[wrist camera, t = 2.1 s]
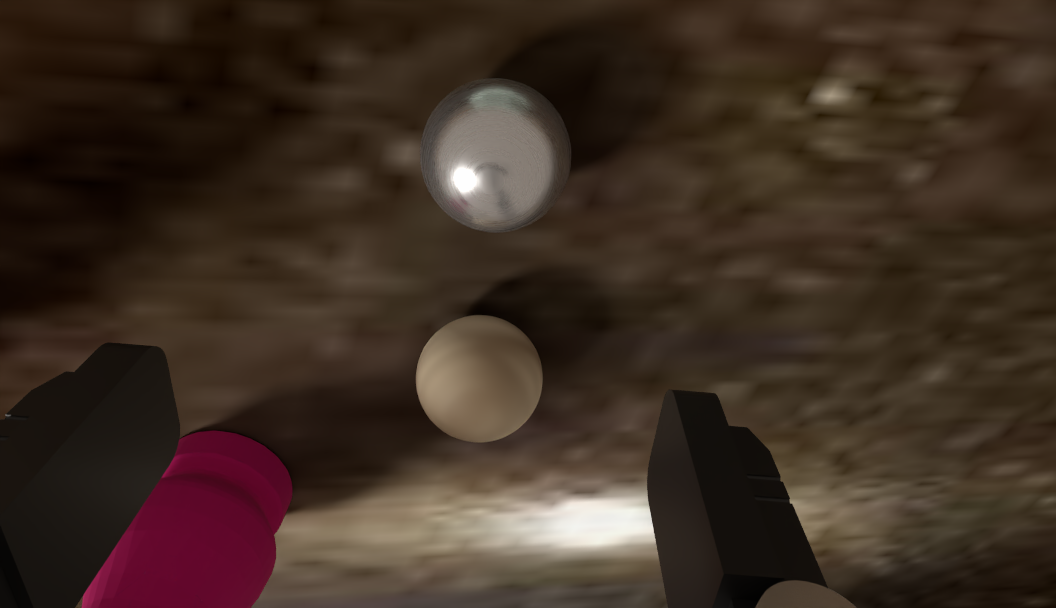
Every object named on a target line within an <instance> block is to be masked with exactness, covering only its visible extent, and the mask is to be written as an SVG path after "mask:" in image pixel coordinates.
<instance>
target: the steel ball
mask: <svg viewBox="0 0 1056 608" xmlns="http://www.w3.org/2000/svg"><path fill="white" fill-rule="evenodd" d="M420 162H421V169H422V174H423V177H424V181H425V183H426V186H427V188H428V190H429V192H430V193H431V195H432V197H433V198H434V200H435V201H436V202H437V204H438V205H439V206H440V207H441V208H442V209H443V210H444V211H445V212H446V213H447V214H448V215H449V216H450V217H452V218H453V219H454V220H456V221H458V222H459V223H461V224H463V225H465V226H467V227H470V228H473V229H476V230H480V231H485V232H508V231H513V230H517V229H520V228H523V227H525V226H527V225H529V224H531V223H533V222H535V221H536V220H538V219H539V218H541V217H542V216H543V215H544V214H546V213H547V212H548V211H549V210H550V209H551V208H552V207H553V206H554V204H555V203H556V201H557V200H558V199H559V197H560V195H561V193H562V192H563V190H564V188H565V185H566V183H567V180H568V176H569V172H570V166H571V145H570V140H569V136H568V133H567V129H566V127H565V124H564V122H563V120H562V118H561V116H560V115H559V113H558V111H557V110H556V108H555V107H554V106H553V105H552V104H551V103H550V101H549V100H547V99H546V98H545V97H544V96H543V95H542V94H541V93H539V92H538V91H536V90H535V89H533V88H531V87H529V86H527V85H525V84H523V83H520V82H517V81H514V80H509V79H503V78H487V79H480V80H476V81H472V82H470V83H467V84H464V85H462V86H461V87H459V88H457V89H455V90H454V91H452V92H451V93H450V94H448V95H447V96H446V97H445V98H444V99H443V100H442V101H441V102H440V103H439V104H438V105H437V107H436V108H435V109H434V110H433V112H432V114H431V115H430V117H429V119H428V121H427V124H426V126H425V128H424V132H423V136H422V139H421V146H420Z"/></svg>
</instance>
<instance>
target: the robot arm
mask: <svg viewBox="0 0 1056 608" xmlns="http://www.w3.org/2000/svg"><path fill="white" fill-rule="evenodd" d="M179 436H180V423H179V418H178V413H177V408H176V403H175V398H174V393H173V388H172V383H171V378H170V373H169V368H168V363H167V359H166V356H165V353H164V352H163V350H162V349H161V348H159V347H157V346H145V345H133V344H120V343H105V344H103V345H101V346H100V347H99V348H98V349H97V350H96V351H95V352H94V353H93V354H92V355H91V356H90V357H89V358H88V359H87V360H86V361H85V362H84V363H83V364H82V365H81V366H80V367H79V368H78V369H77V370H76V371H75V372H64V373H62V374H61V375H59V376H57V377H55V378H53V379H51V380H50V381H48V382H46V383H44V384H42V385H41V386H39V387H37V388H35V389H33V390H31V391H30V392H29V393H28V394H27V395H26V396H25V397H24V398H23V399H22V400H21V401H20V402H18V403H17V404H16V405H15V406H14V407H13V408H12V409H11V410H10V411H9V412H8V413H7V414H6V418H5V420H2V419H1V420H0V608H75V607H76V605H77V604H78V602H79V601H80V599H81V598H82V596H83V595H84V593H85V592H86V590H87V589H88V587H89V586H90V584H91V583H92V581H93V580H94V578H95V577H96V575H97V574H98V572H99V571H100V569H101V568H102V566H103V565H104V563H105V562H106V560H107V559H108V557H109V556H110V554H111V553H112V551H113V550H114V548H115V547H116V545H117V544H118V542H119V541H120V539H121V538H122V536H123V535H124V533H125V531H126V530H127V528H128V527H129V525H130V524H131V522H132V521H133V519H134V518H135V516H136V515H137V513H138V512H139V510H140V509H141V507H142V506H143V504H144V503H145V501H146V500H147V498H148V497H149V495H150V494H151V492H152V491H153V489H154V488H155V486H156V485H157V483H158V482H159V480H160V479H161V477H162V476H163V474H164V473H165V471H166V470H167V468H168V467H169V465H170V464H171V462H172V460H173V458H174V456H175V453H176V451H177V447H178V443H179ZM780 477H781V476H780V474H779V472H778V469H777V467H776V465H775V462H774V460H773V458H772V455H771V453H770V451H769V450H768V449H767V448H766V446H765V445H764V444H763V443H762V442H761V441H760V440H759V439H758V438H757V437H756V436H755V435H754V434H753V433H752V432H751V431H750V430H749V429H748V428H747V427H735V426H729V425H728V423H727V420H726V417H725V414H724V412H723V409H722V406H721V403H720V401H719V398H718V396H717V395H716V394H715V393H705V392H693V391H681V390H668V391H667V392H666V394H665V397H664V401H663V405H662V409H661V413H660V417H659V422H658V426H657V430H656V435H655V439H654V443H653V447H652V452H651V456H650V461H649V467H648V478H647V490H648V501H649V506H650V512H651V517H652V523H653V528H654V533H655V539H656V544H657V550H658V555H659V561H660V566H661V571H662V577H663V582H664V588H665V593H666V598H667V604H668V608H856V607H855V606H854V605H853V604H852V603H851V602H849V601H848V600H847V599H846V598H844V597H842V596H841V595H839V594H838V593H836V592H834V591H832V590H830V589H828V587H827V584H826V582H825V580H824V577H823V575H822V573H821V570H820V568H819V566H818V563H817V561H816V559H815V556H814V554H813V552H812V549H811V547H810V545H809V542H808V540H807V537H806V535H805V533H804V530H803V528H802V526H801V523H800V521H799V519H798V516H797V514H796V512H795V509H794V507H793V505H792V504H790V502H789V499H790V498H789V495H788V493H787V490H786V488H785V486H784V483H783V482H781V481H780Z"/></svg>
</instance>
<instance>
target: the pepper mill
mask: <svg viewBox="0 0 1056 608" xmlns="http://www.w3.org/2000/svg"><path fill="white" fill-rule="evenodd" d="M292 492H293V489H292V482H291V478H290V476H289V473H288V470H287V469H286V467H285V466H284V465H283V463H282V462H281V461H280V459H279V458H278V457H277V456H276V455H275V454H274V453H272V452H271V451H270V450H269V449H268V448H266V447H265V446H264V445H262V444H260V443H258V442H256V441H254V440H252V439H251V438H248V437H245V436H242V435H239V434H236V433H231V432H223V431H216V430H213V431H203V432H197V433H193V434H190V435H188V436H185V437H183V438H181V439H179V443H178V447H177V451H176V453H175V456H174V458H173V460H172V462H171V464H170V465H169V467H168V468H167V470H166V471H165V473H164V474H163V476H162V477H161V479H160V480H159V482H158V483H157V485H156V486H155V488H154V489H153V491H152V492H151V494H150V495H149V497H148V498H147V500H146V501H145V503H144V504H143V506H142V507H141V509H140V510H139V512H138V513H137V515H136V516H135V518H134V519H133V521H132V522H131V524H130V525H129V527H128V528H127V530H126V531H125V533H124V535H123V536H122V538H121V539H120V541H119V542H118V544H117V545H116V547H115V548H114V550H113V551H112V553H111V554H110V556H109V557H108V559H107V560H106V562H105V563H104V565H103V566H102V568H101V569H100V571H99V572H98V574H97V575H96V577H95V578H94V580H93V581H92V583H91V584H90V586H89V587H88V589H87V590H86V592H85V593H84V595H83V604H82V608H251V606H252V605H253V604H254V603H255V601H256V600H257V599H258V598H259V596H260V594H261V592H262V590H263V589H264V587H265V585H266V583H267V581H268V579H269V578H270V576H271V574H272V571H273V568H274V564H275V560H276V544H275V537H274V534H275V533H276V532H277V530H278V529H279V527H280V525H281V523H282V521H283V518H284V516H285V514H286V511H287V509H288V507H289V504H290V502H291V499H292Z"/></svg>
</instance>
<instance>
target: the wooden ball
mask: <svg viewBox="0 0 1056 608" xmlns="http://www.w3.org/2000/svg"><path fill="white" fill-rule="evenodd" d="M542 384H543V374H542V365H541V361H540V358H539V355H538V353H537V351H536V349H535V347H534V345H533V344H532V342H531V341H530V339H529V338H528V337H527V336H526V335H525V334H524V333H523V332H522V331H521V330H520V329H518V328H517V327H516V326H514V325H513V324H511V323H509V322H508V321H505V320H503V319H501V318H497V317H493V316H488V315H472V316H466V317H463V318H459V319H457V320H454V321H452V322H450V323H448V324H447V325H445V326H444V327H442V328H441V329H440V330H439V331H437V332H436V333H435V334H434V335H433V336H432V337H431V338H430V340H429V341H428V343H427V344H426V346H425V347H424V349H423V351H422V353H421V356H420V358H419V361H418V365H417V371H416V388H417V393H418V397H419V400H420V403H421V405H422V407H423V409H424V411H425V413H426V414H427V416H428V417H429V419H430V420H431V421H432V422H433V423H434V424H435V425H436V426H437V427H438V428H440V429H441V430H442V431H443V432H445V433H446V434H448V435H450V436H452V437H454V438H457V439H460V440H464V441H469V442H490V441H494V440H498V439H501V438H503V437H505V436H507V435H509V434H511V433H513V432H514V431H516V430H517V429H519V428H520V427H521V426H522V425H523V424H524V423H525V422H526V421H527V420H528V419H529V417H530V416H531V415H532V413H533V411H534V410H535V408H536V406H537V404H538V401H539V398H540V395H541V391H542Z"/></svg>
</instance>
